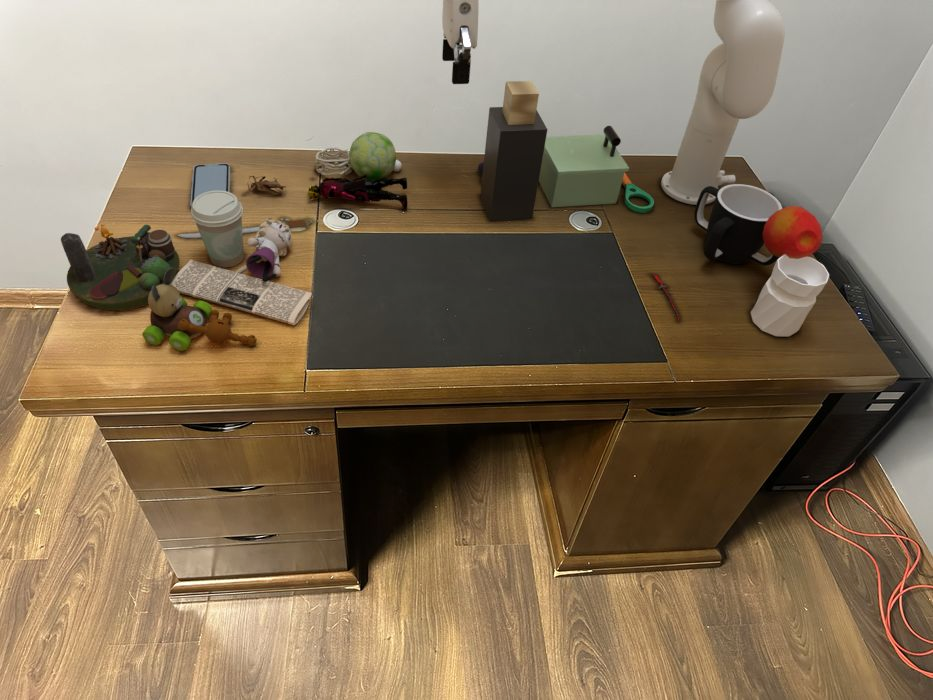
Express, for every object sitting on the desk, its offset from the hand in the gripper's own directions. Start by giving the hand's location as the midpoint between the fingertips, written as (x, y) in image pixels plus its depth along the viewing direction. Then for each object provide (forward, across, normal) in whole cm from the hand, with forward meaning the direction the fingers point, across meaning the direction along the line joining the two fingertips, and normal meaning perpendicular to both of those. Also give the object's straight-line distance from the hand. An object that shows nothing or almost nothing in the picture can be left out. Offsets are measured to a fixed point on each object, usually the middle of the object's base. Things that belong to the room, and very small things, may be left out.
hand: (455, 71), depth 131 cm
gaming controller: (+24, 0, -11) cm, 27 cm away
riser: (+24, -11, -10) cm, 28 cm away
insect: (+20, -2, +39) cm, 44 cm away
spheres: (+23, +11, +12) cm, 29 cm away
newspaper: (+22, -32, +43) cm, 58 cm away
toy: (+21, -31, +42) cm, 56 cm away
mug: (+24, -30, -52) cm, 65 cm away
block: (+4, -11, -10) cm, 15 cm away
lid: (+16, -5, -28) cm, 33 cm away
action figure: (+24, -5, +20) cm, 32 cm away
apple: (+8, -48, -51) cm, 71 cm away
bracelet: (+22, +6, +28) cm, 36 cm away
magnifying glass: (+25, -8, -39) cm, 47 cm away
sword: (+24, -16, +42) cm, 51 cm away
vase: (+24, -50, -51) cm, 76 cm away
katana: (+24, -43, -36) cm, 61 cm away
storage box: (+24, -5, -27) cm, 37 cm away
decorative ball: (+15, 0, +18) cm, 23 cm away
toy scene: (+24, -25, +62) cm, 71 cm away
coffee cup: (+24, -21, +45) cm, 56 cm away
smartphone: (+24, +2, +49) cm, 55 cm away
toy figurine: (+23, -38, +46) cm, 63 cm away
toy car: (+24, -39, +52) cm, 69 cm away
